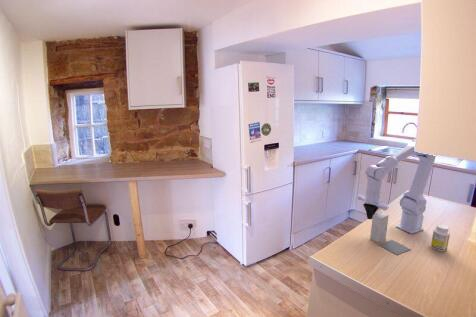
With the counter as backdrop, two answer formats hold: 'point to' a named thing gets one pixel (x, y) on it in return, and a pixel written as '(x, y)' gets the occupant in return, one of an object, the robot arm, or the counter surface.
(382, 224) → the skincare box
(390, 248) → the mat
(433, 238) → the supplement bottle
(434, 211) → the counter surface
